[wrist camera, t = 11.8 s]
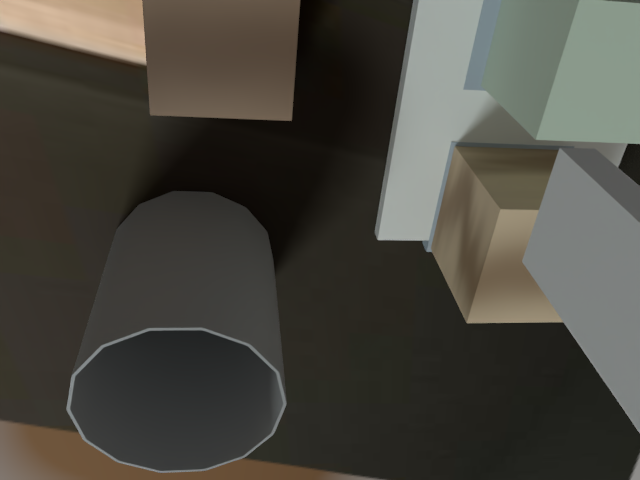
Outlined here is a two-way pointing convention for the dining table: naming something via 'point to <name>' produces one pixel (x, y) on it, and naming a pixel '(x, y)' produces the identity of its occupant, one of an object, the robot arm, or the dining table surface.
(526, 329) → the dining table surface
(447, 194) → the oak base
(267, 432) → the cup
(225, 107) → the walnut block
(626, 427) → the dining table surface
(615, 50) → the sage block
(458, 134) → the board
